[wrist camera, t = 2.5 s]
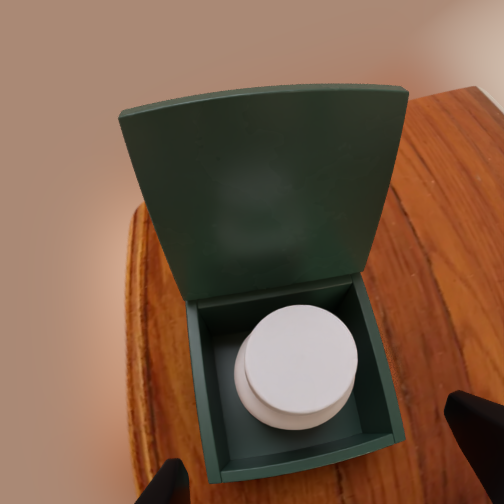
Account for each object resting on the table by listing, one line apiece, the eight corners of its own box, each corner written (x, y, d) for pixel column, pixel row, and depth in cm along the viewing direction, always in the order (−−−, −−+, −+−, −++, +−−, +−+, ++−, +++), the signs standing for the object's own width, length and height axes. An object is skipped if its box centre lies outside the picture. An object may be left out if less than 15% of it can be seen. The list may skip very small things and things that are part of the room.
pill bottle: (334, 352, 19) (381, 297, 11) (322, 433, 16) (369, 438, 9) (251, 340, 19) (243, 277, 12) (234, 420, 17) (211, 417, 9)
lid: (410, 91, 8) (401, 85, 9) (116, 117, 8) (120, 110, 8) (363, 271, 16) (359, 263, 16) (183, 301, 15) (183, 291, 16)
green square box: (369, 438, 16) (406, 439, 11) (223, 468, 16) (208, 484, 11) (338, 308, 21) (360, 270, 16) (203, 331, 20) (185, 299, 16)
